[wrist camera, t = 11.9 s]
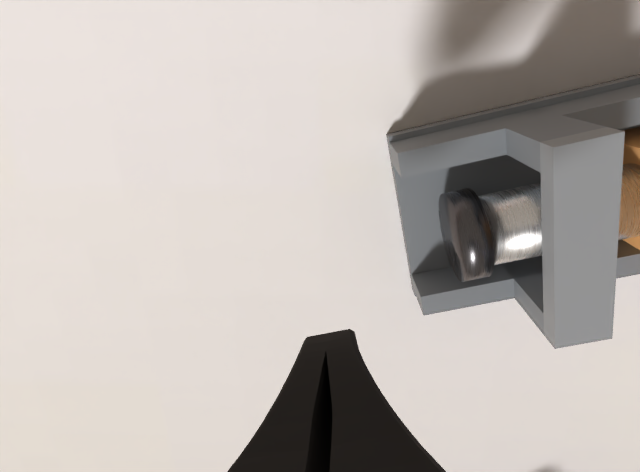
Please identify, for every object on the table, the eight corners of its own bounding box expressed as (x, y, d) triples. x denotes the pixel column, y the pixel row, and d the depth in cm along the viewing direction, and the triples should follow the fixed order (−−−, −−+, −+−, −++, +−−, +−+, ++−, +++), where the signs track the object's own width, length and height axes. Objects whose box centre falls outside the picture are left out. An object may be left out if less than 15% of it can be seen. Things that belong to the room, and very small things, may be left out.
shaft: (606, 144, 17) (676, 166, 13) (603, 223, 18) (665, 261, 15) (434, 182, 17) (461, 212, 14) (444, 256, 19) (470, 299, 16)
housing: (732, 52, 16) (939, 51, 11) (705, 231, 20) (854, 300, 14) (386, 134, 18) (415, 170, 12) (412, 289, 21) (445, 373, 15)
